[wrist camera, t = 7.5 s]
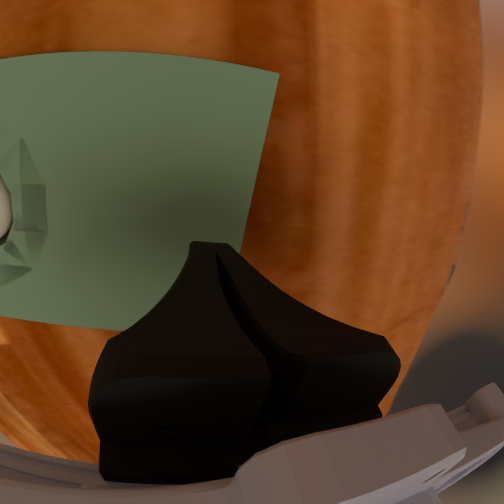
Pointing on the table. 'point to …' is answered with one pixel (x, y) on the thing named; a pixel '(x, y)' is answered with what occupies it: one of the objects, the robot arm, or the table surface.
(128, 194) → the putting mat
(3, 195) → the ball
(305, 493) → the robot arm
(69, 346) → the table surface
